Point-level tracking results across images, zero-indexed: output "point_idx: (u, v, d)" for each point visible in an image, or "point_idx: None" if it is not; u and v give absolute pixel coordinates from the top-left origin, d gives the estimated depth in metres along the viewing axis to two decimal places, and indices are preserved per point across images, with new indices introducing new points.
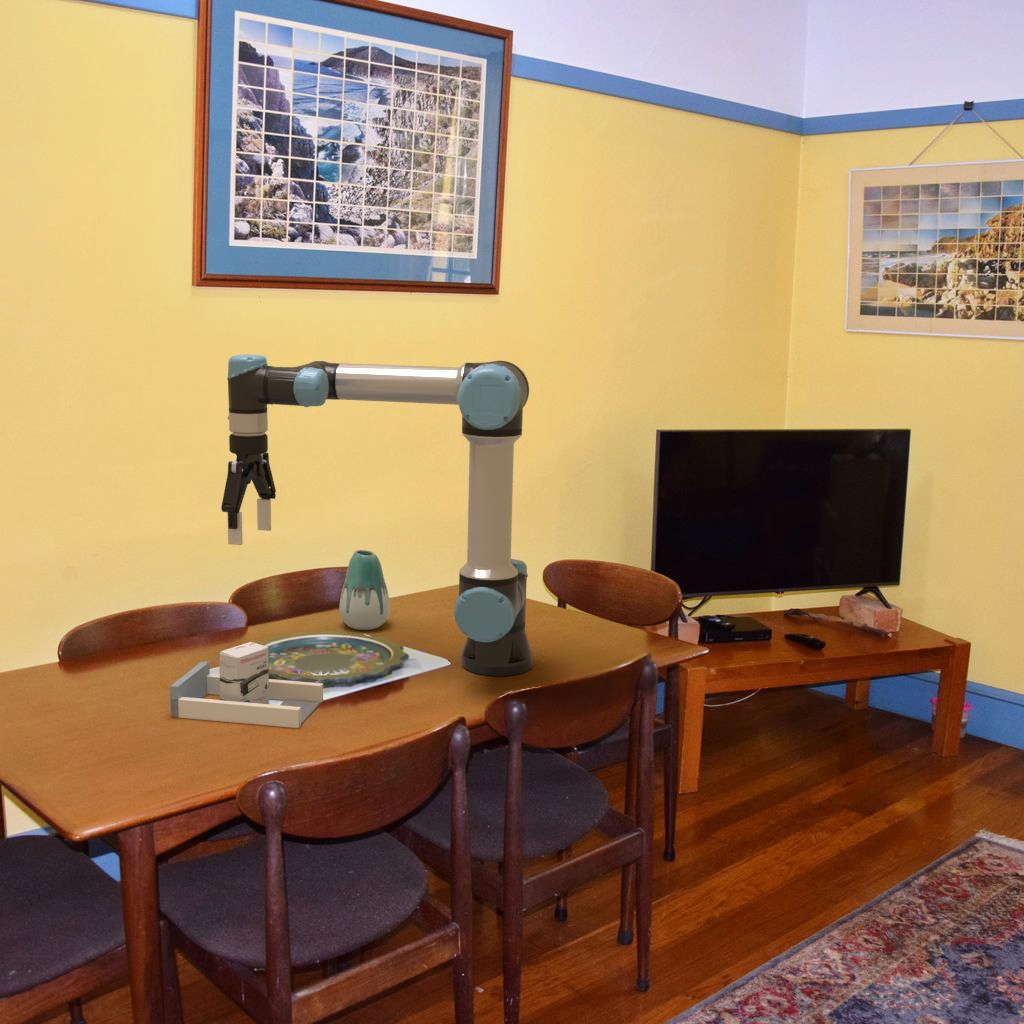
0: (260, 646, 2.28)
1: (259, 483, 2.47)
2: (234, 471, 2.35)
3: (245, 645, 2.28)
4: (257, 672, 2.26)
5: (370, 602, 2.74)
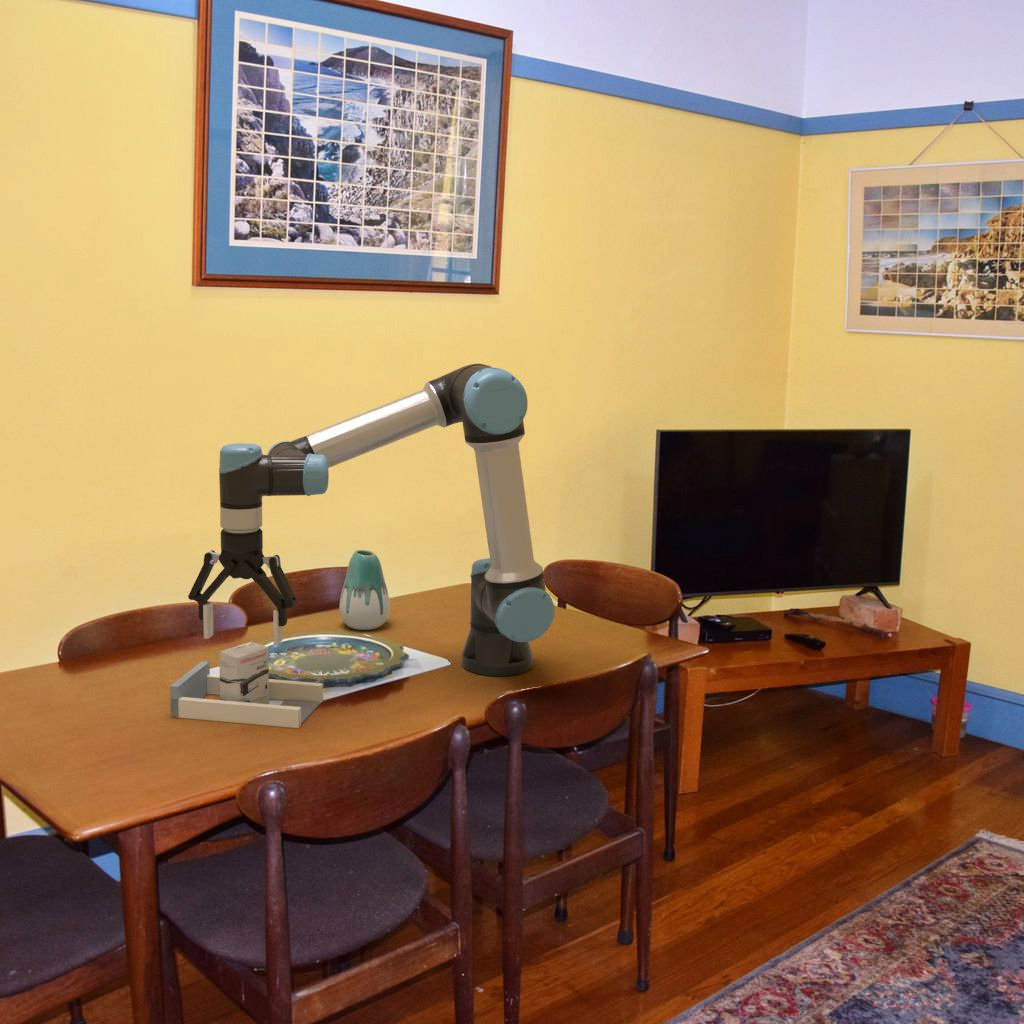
0: (260, 646, 2.28)
1: None
2: None
3: (245, 645, 2.28)
4: (257, 672, 2.26)
5: (370, 602, 2.74)
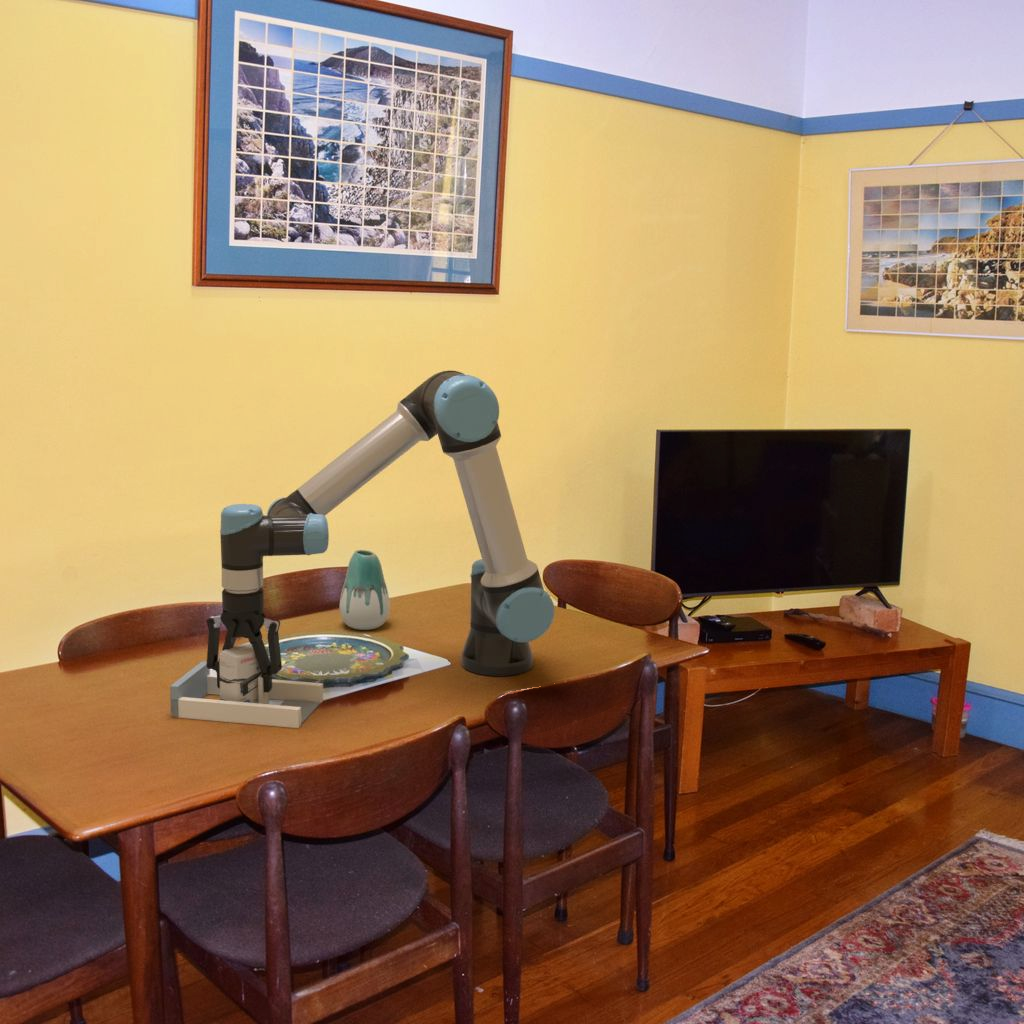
0: None
1: None
2: None
3: (245, 645, 2.28)
4: (257, 672, 2.26)
5: (370, 602, 2.74)
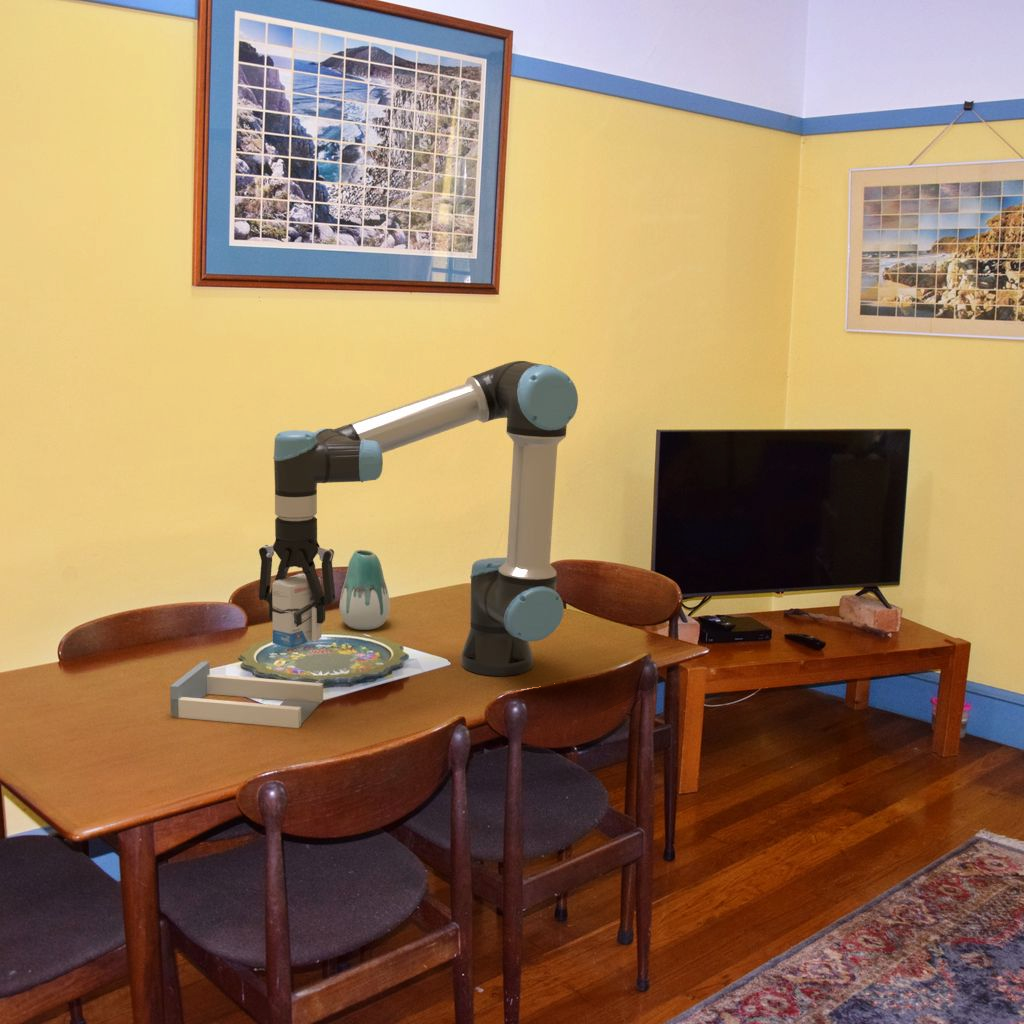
0: None
1: None
2: None
3: (297, 576, 2.23)
4: (310, 603, 2.22)
5: (370, 602, 2.74)
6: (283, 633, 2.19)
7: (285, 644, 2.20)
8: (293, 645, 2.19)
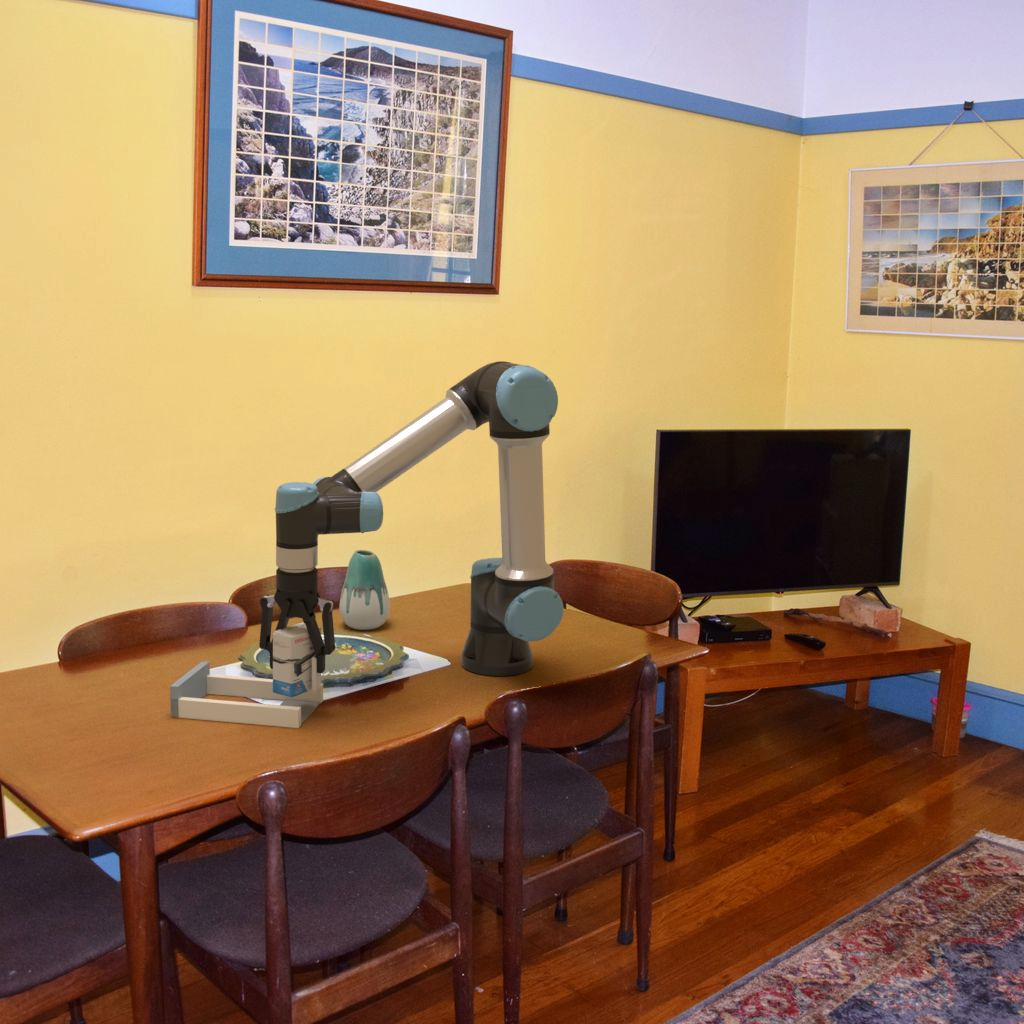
0: None
1: None
2: None
3: (298, 625, 2.25)
4: (310, 652, 2.23)
5: (370, 602, 2.74)
6: (284, 682, 2.21)
7: (285, 694, 2.21)
8: (293, 695, 2.21)
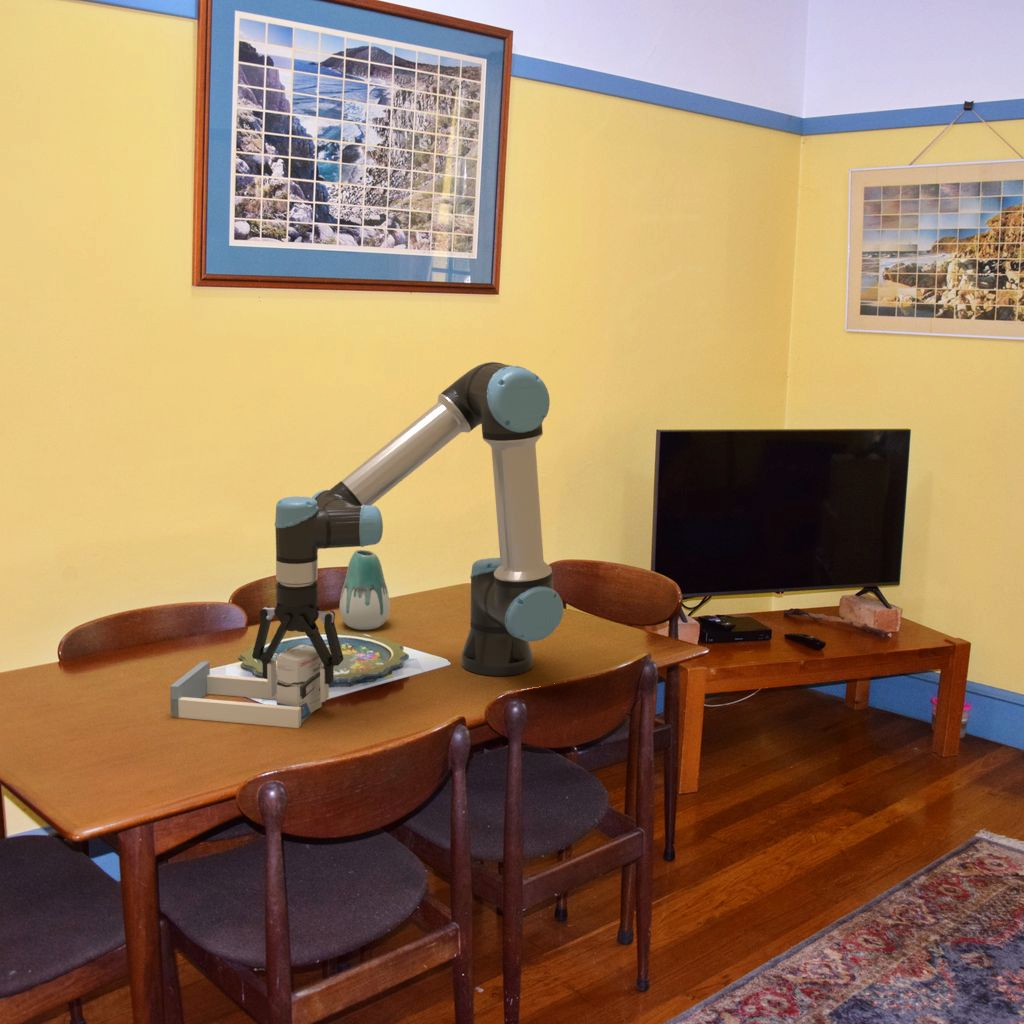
0: (314, 648, 2.26)
1: None
2: None
3: (299, 648, 2.26)
4: (313, 675, 2.25)
5: (370, 602, 2.74)
6: (289, 705, 2.22)
7: None
8: None
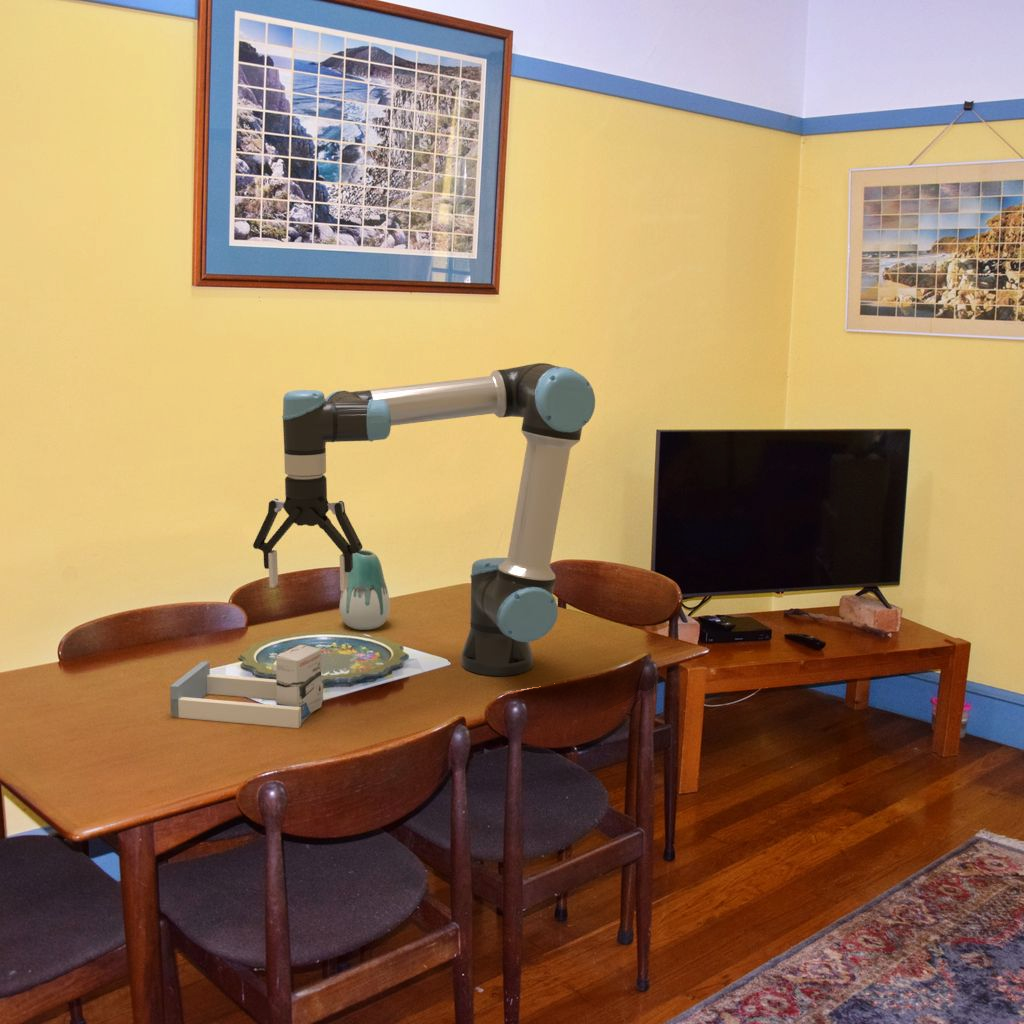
0: (313, 648, 2.26)
1: None
2: None
3: (298, 648, 2.26)
4: (313, 675, 2.25)
5: (370, 602, 2.74)
6: None
7: None
8: None
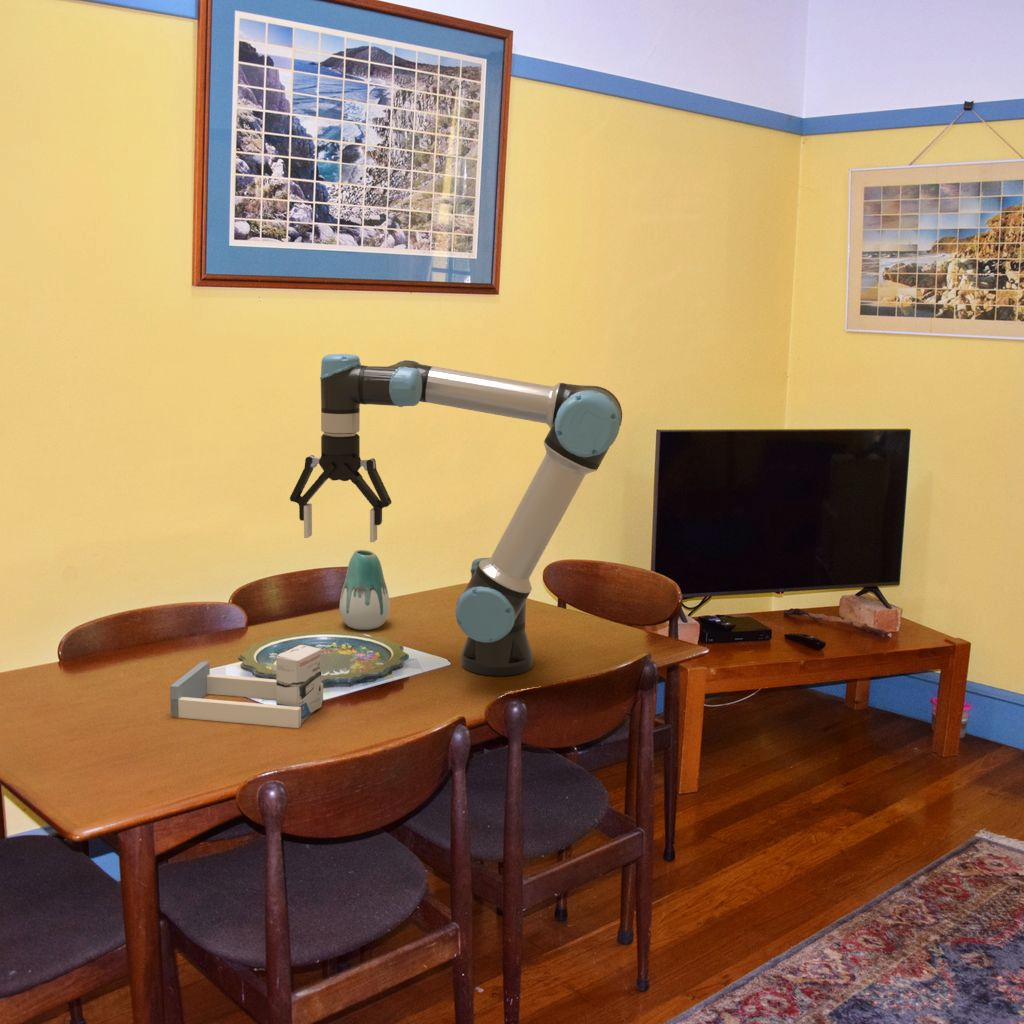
0: (313, 648, 2.26)
1: None
2: None
3: (298, 648, 2.26)
4: (313, 675, 2.25)
5: (370, 602, 2.74)
6: None
7: None
8: None
